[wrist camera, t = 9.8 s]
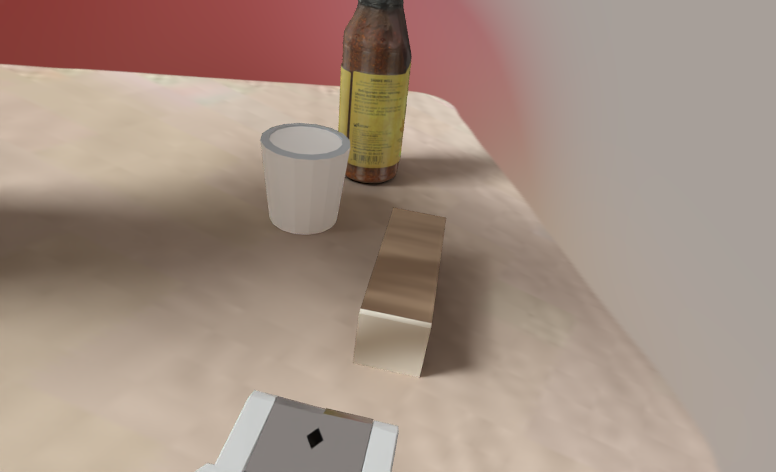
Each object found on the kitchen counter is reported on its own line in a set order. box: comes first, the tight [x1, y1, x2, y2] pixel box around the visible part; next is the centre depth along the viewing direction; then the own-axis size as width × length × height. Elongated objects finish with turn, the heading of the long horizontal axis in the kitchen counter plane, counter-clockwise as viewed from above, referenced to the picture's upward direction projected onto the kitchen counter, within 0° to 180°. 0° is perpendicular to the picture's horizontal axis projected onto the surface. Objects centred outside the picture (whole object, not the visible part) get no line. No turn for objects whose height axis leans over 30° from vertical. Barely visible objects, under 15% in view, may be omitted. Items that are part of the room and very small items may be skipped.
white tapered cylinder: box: [260, 123, 350, 235], centre depth 40 cm, size 7×7×7 cm
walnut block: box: [353, 208, 446, 378], centre depth 33 cm, size 4×4×12 cm
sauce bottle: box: [338, 0, 411, 183], centre depth 45 cm, size 6×6×20 cm
